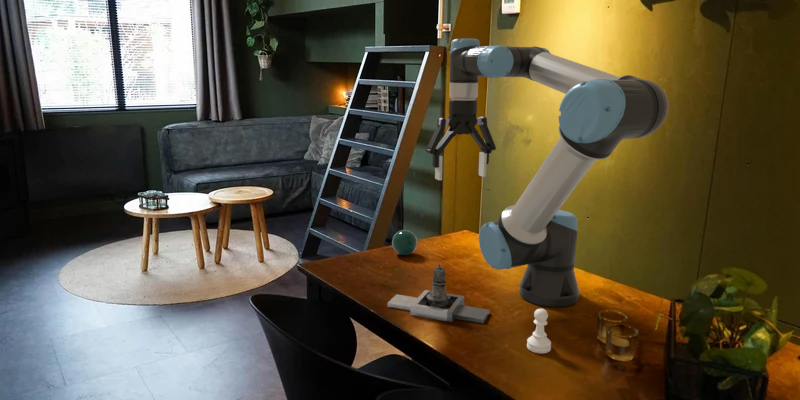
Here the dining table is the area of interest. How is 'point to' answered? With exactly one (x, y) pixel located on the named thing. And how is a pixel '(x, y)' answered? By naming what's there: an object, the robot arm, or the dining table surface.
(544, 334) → the chess pawn
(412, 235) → the sphere
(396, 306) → the flanged square frame
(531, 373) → the dining table surface
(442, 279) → the grey chess piece
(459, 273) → the dining table surface
